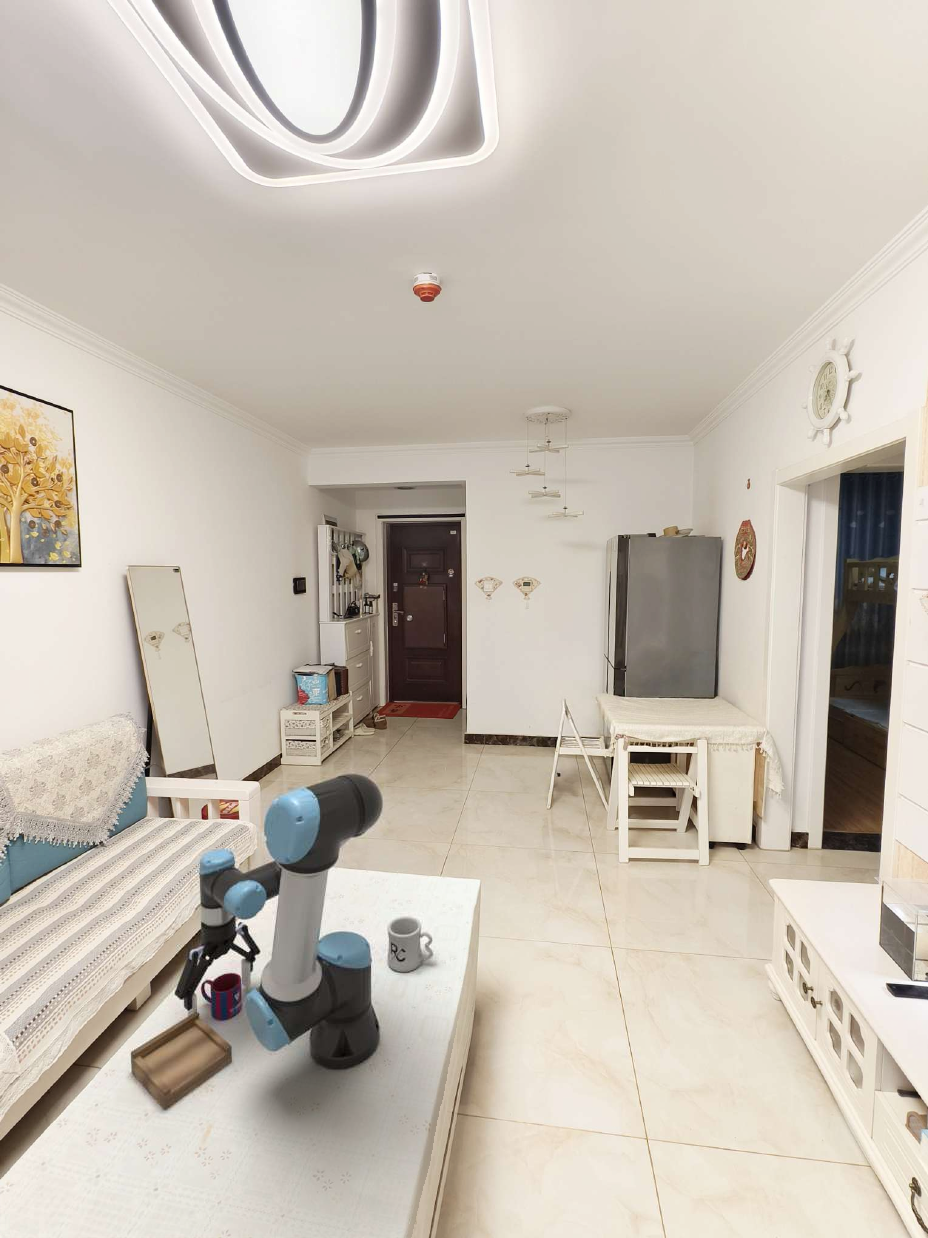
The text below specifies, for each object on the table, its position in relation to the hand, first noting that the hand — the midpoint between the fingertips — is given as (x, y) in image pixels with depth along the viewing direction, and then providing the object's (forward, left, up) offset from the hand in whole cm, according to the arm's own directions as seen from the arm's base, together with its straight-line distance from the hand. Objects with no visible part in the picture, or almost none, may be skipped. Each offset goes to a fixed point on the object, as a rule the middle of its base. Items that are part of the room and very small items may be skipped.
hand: (220, 1002), depth 138 cm
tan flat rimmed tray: (-9, +14, -1) cm, 17 cm away
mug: (-25, -39, -1) cm, 47 cm away
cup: (0, 0, -1) cm, 1 cm away
